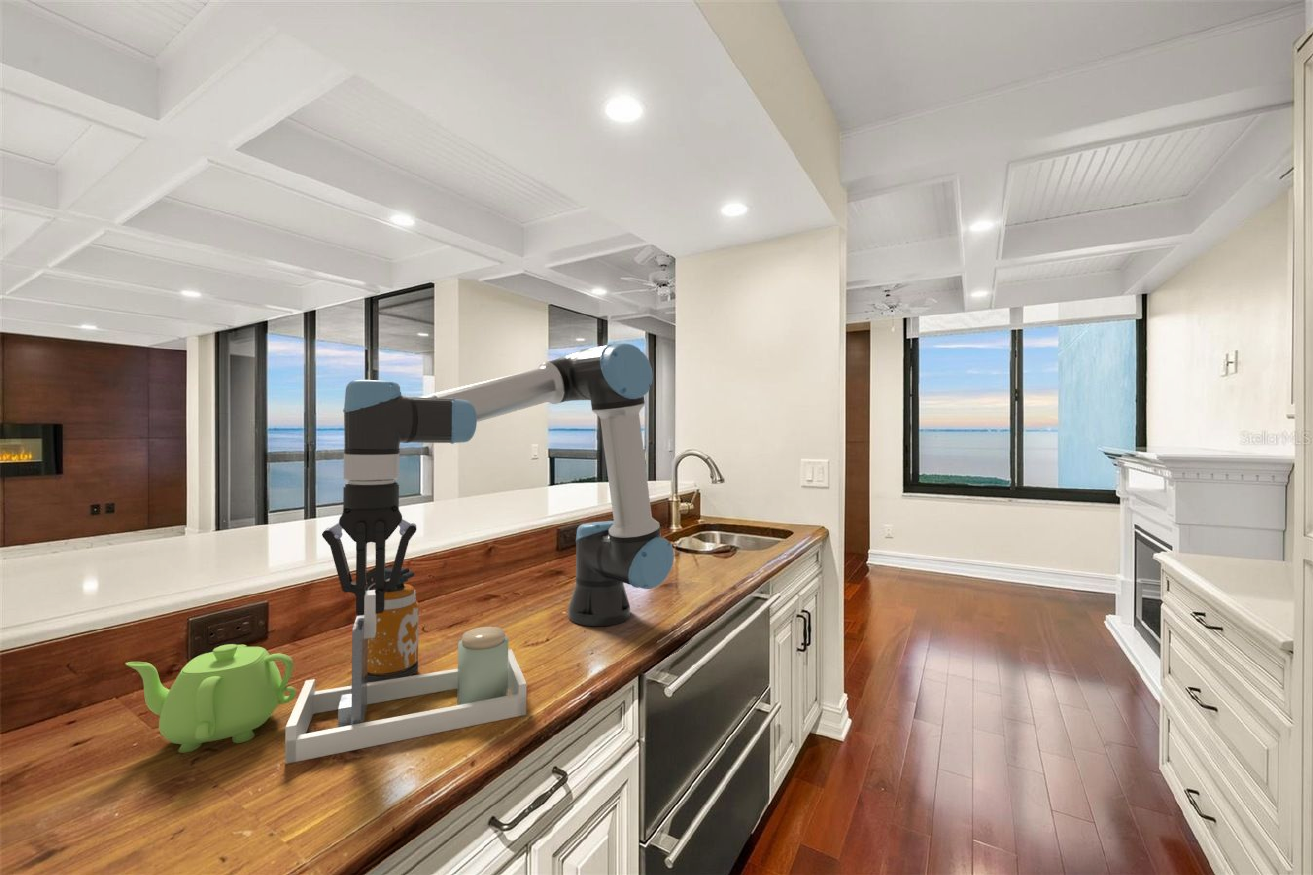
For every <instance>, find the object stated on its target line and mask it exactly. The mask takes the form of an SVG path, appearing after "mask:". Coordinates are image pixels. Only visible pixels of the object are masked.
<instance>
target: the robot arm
mask: <svg viewBox="0 0 1313 875" xmlns="http://www.w3.org/2000/svg"><path fill="white" fill-rule="evenodd" d="M653 377H654V376H653V369H652V365H651V363H650V360H649V359H648V357H647V355H646V354H645V353H644V352H643V351H641V349H640V348H639V347H637V346H636V345H633V344H630V343H612V344H608V345H607V344H606V345H603V346H602V345H601V346H596V347H592V348H585V349H581V350H578V351H575V352H572V353H570V354H567V355H564V356H562V357H561V356H560V357H558V358H555V359H551V360H549V361H544V362H542V363H540V365H539V366H538V368H535V369H531V370H525V371H522V372H518V373H514V374H510V375H506V376H501V377H497V378H493V379H489V380H486V381H481V382H476V383H473V384H469V385H464V386H460V387H456V388H451V389H448V390H447V389H446V390H443V391H439V392H435V393H431V394H428V395H422V396H408V395H403V394H402V391H401V386H400V384H399V383H397V382H394V381H387V380H386V381H385V380H371V379H358V380H357V379H356V380H352V381H349V383H348V384H346V386H345V394H344V407H343V418H344V421H343V427H344V429H343V430H344V438H343V439H344V453H343V480H344V481H346V482H347V483H345V484H344V485H343V489H342V490H343V491H342V492H343V495H342V496H343V500H342V504H343V505H342V506H343V508H342V514H341V516H340V517H339V519H338V522H337V523H336V524H334V525H332V526H331V527H327V528H325V529H324V530H323V531H322V534H321V536H322V538H323V539H324V541H325V542H327V544H328V546H330V551H331V554H332V559H333V562H334V566H335V570H336V573H337V576H338V579H339V585H340V586H341V587H340V588H341V590H342V592H344V593H351V594H353V595H354V596H355V613H356V617H357V616H361V615H364V639H366V638H373V637H375V635H376V614H378V613H383V611H384V607H385V591H386V590H388V589H390V588H394V587H396V586H397V583H398V579H399V576H400V572H401V568H403V566H404V565H403V564H404V561H405V557H406V554H407V551H408V550H407V549H408V546H409V542H410V540H411V539H412V538H413V537H414V534H415V533H416V532H417V525H416V523H411V522H408V521H407V520H405V519H404V518H403V515H402V512H401V511H400V484H398V482H396V480H398V479H399V478H400V451H401V450H400V444H401V443H402V444H409V443H419V444H420V443H421V444H452V445H453V444H459V443H467V442H469V441H471V440H472V439H473V437H474V435H475V432H476V431H477V430H476V429H477V425H478V424H477V423H479V422H482V421H486V420H489V419H493V418H496V417H499V416H503V415H507V414H510V413H514V412H517V411H520V410H524V409H527V408H531V407H534V406H538V405H542V404H544V403H550V404H552V405H557V404H562V403H564V402H570V401H572V402H573V401H590V405H591V411H592V413H594V414H596V415H597V416H598V417H599V419H600V426H601V435H602V441H603V442H602V443H603V448H604V456H605V457H604V458H605V464H606V472H607V478H608V486H609V488H608V489H609V494H610V502H611V503H610V504H611V510H612V516H613V518H612V519H613V520H605V521H603V520H602V521H593V522H587V523H582V524H580V525H578V527H577V529H576V538H575V549H576V552H575V586H574V589H573V592H572V596H571V598H570V601H569V605H568V609H567V610H568V611H567V618H568V620H570V621H571V622H572V623H575V624H578V625H582V626H589V627H606V626H607V627H608V626H613V625H614V626H615V625H618V624H621V623H623V622H625V621H627V620H628V619H629V618H630V617H631V604H630V602H629V598H628V595H627V592H626V589H625V584H627V585H630V586H632V587H633V588H636V589H644V590H652V589H656V588H657V587H658V586H660V585H662V583H663V582H664V581H665V580H666V579H667V577H669V576H668V575H669V574H670V572H671V570H672V567H673V565H674V557H675V553H674V548H673V545H672V544H671V542H669V541H668V539H667V538H664V537H662V535H661V534H662V533H661V526H660V522H659V521H657V520H656V519H655V518H653V516H652V508H651V499H650V491H649V483H648V475H647V467H646V466H647V465H646V457H645V451H644V442H643V435H642V427H641V417H640V412H641V410H642V409H643V407H645V405H646V403H645V401H646V400H645V396H646V395H647V394H648V393H649V391H650V389H651V386H652V384H653V379H654V378H653ZM398 527H399V535H400V536H401V537H400V539H399V543H398V548H397V550H396V554H395V557H394V562H393V564H392V567H391V568H392V572H391V575H390V578H389V579H387V580H385V566H386V542H387V540H388V539H389V538H390V537H391V536H392V534H393V533H394V532H395V531H396V529H397V528H398ZM342 530H344V532H345V533H346V534H347V535H348V537H350V539H352V541H353V542H355V550H356V553H355V556H356V557H355V560H356V561H355V582H354V581H353V578H352V573H351V571H350V567H349V563H348V560H347V556H346V552H345V549H344V545H343V542H342V540H341V538H342V537H343V532H342ZM369 543H374V547H375V567H374V568H375V590H369V591H366V586H367V585H366V584H367V581H366V573H367V569H368V567H367V565H368V564H367V562H368V561H367V560H368V558H367V556H368V553H367V552H368V544H369Z"/></svg>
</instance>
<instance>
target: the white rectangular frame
mask: <svg viewBox="0 0 1313 875" xmlns="http://www.w3.org/2000/svg"><path fill="white" fill-rule="evenodd" d="M315 681H316V679H306V680H305V681H304V685H303V686H302V688H301V691H300V693H299V695H298V698H297V701H296V703H295V705H294V707H293V709H292V712H291V714H290V717H289V718H288V721H287V723H286V725H285V744H284V746H285V748H284V749H285V751H284V752H285V753H284V754H285V755H284V756H285V757H284V758H285V759H284V761H285V762H284V764H285V765H287V764H292V763H298V762H302V761H308V760H313V759H316V758H322V757H326V756H330V755H331V756H332V755H336V754H342V753H346V752H350V751H351V752H352V751H355V750H360V749H365V748H370V747H375V746H379V745H380V746H381V745H385V744H389V743H394V742H395V743H396V742H399V741H400V742H401V741H404V740H405V741H406V740H409V739H414V738H420V737H423V736H429V735H434V734H438V733H442V732H448V731H453V730H458V729H463V728H467V727H468V728H469V727H472V726H477V725H483V724H486V723H487V724H488V723H492V722H498V721H502V720H507V719H511V718H516V717H521V716H526V715H527V682H526V679H525V677H524V674H523V672H522V670H521V667H520V666H519V663H518V660H517V659H516V656H515V653H514V651H513V649H512V648H510V649H509V648H508V692H509V694H510V695H508V696H504V697H499V698H493V699H488V700H483V701H477V702H472V703H467V704H461V705H457V704H456V705H451V706H447V707H441V708H436V709H430V710H425V711H419V712H413V713H409V714H403V715H400V716H399V715H398V716H393V717H388V718H382V719H378V720H377V719H376V720H371V721H364V723H360V724H355V725H349V726H344V727H339V728H338V727H334V728H329V729H323V730H319V731H318V730H317V731H312V732H309V733H307V732H308V729H309V726H310V724H311V721H312V718H313V716H314V714H321V713H326V712H332V711H336V710H338V708H339V704H340V701H341V697H342V695H346V694H352V685H347V686H341V687H335V688H334V687H333V688H327V689H323V690H315V689H316V687H315V685H316V682H315ZM452 690H458V668H452V669H447V670H440V671H434V672H428V673H422V674H420V673H419V674H416V675H415V674H414V675H411V676H408V677H402V678H396V679H389V680H383V681H377V682H367V705H372V704H377V703H383V702H388V701H393V700H400V699H404V698H411V697H417V696H423V695H428V694H434V693H438V692H445V691H446V692H447V691H452Z"/></svg>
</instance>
